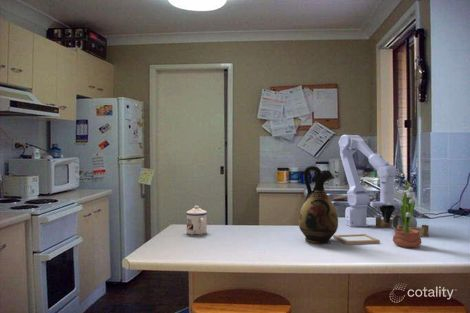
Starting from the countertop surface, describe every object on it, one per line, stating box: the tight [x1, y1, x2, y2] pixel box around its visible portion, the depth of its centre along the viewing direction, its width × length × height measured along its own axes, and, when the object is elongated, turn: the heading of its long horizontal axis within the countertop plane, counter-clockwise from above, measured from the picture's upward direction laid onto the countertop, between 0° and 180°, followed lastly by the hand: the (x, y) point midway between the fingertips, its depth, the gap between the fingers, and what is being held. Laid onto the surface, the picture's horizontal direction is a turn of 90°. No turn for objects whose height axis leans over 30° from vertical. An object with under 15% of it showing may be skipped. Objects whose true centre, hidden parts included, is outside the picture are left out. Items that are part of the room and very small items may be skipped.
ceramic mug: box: [391, 213, 418, 231], centre depth 173 cm, size 11×8×8 cm
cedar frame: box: [375, 216, 429, 237], centre depth 172 cm, size 13×21×4 cm, turn 5°
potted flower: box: [392, 180, 422, 249], centre depth 145 cm, size 12×10×25 cm
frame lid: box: [332, 233, 380, 246], centre depth 153 cm, size 14×11×1 cm
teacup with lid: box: [185, 205, 208, 235], centre depth 165 cm, size 12×9×12 cm
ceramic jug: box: [297, 165, 339, 245], centre depth 152 cm, size 17×15×30 cm
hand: (386, 222), depth 171 cm, fingers closed
